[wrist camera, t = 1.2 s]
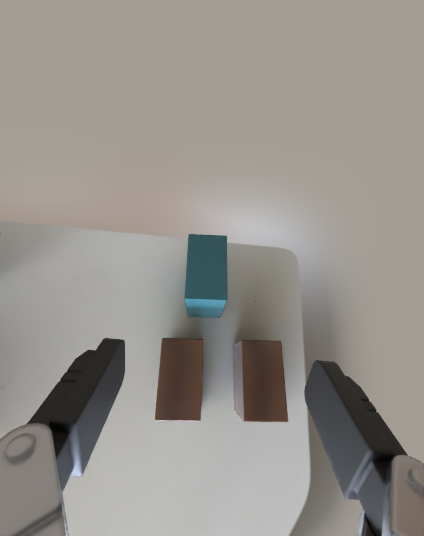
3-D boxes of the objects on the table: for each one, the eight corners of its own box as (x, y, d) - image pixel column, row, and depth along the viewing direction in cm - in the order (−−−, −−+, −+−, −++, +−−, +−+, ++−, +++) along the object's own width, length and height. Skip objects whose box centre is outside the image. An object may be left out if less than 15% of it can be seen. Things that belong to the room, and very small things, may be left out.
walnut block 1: (202, 344, 34) (203, 339, 27) (200, 409, 31) (201, 421, 24) (169, 343, 34) (162, 338, 27) (163, 409, 31) (154, 420, 24)
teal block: (220, 267, 38) (227, 235, 29) (219, 317, 35) (227, 300, 26) (190, 265, 38) (188, 234, 29) (187, 316, 35) (184, 299, 26)
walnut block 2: (265, 345, 34) (281, 340, 28) (269, 410, 31) (288, 422, 25) (233, 344, 34) (241, 339, 28) (234, 409, 31) (243, 421, 25)
